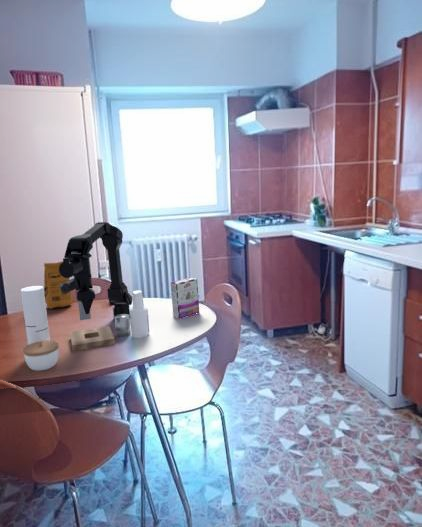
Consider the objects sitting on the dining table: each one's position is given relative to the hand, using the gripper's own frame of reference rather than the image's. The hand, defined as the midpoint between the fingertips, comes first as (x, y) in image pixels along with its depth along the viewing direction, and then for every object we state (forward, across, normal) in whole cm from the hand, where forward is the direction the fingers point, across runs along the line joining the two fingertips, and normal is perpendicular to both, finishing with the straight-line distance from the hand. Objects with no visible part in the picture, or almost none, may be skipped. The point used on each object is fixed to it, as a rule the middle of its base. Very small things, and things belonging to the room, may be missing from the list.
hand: (87, 312), depth 158 cm
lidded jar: (+12, +17, -16) cm, 26 cm away
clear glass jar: (+12, -2, +13) cm, 18 cm away
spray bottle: (+12, +2, +19) cm, 23 cm away
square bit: (+2, 0, -1) cm, 2 cm away
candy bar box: (+12, -13, +42) cm, 45 cm away
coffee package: (+12, -59, -11) cm, 61 cm away
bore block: (+12, +1, +1) cm, 12 cm away
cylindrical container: (+12, +7, -17) cm, 22 cm away
